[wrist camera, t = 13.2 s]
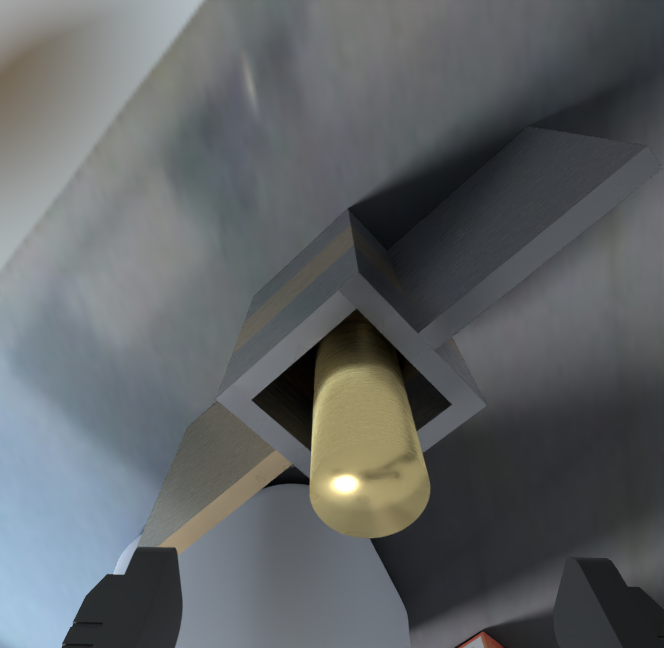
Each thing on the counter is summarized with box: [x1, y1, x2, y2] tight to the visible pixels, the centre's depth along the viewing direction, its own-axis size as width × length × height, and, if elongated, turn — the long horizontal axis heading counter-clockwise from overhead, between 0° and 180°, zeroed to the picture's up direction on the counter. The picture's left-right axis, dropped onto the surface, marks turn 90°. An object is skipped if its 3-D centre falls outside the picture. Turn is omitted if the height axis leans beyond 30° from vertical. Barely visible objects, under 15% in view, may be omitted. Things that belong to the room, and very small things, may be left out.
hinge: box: [136, 126, 663, 555], centre depth 22 cm, size 22×6×10 cm, turn 133°
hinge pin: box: [309, 309, 430, 538], centre depth 20 cm, size 3×3×14 cm
